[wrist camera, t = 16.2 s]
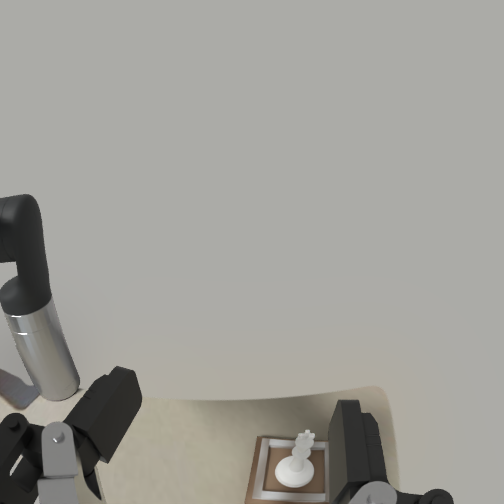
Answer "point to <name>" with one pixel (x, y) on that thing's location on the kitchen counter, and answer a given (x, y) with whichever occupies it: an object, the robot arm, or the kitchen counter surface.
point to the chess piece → (297, 463)
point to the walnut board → (276, 494)
